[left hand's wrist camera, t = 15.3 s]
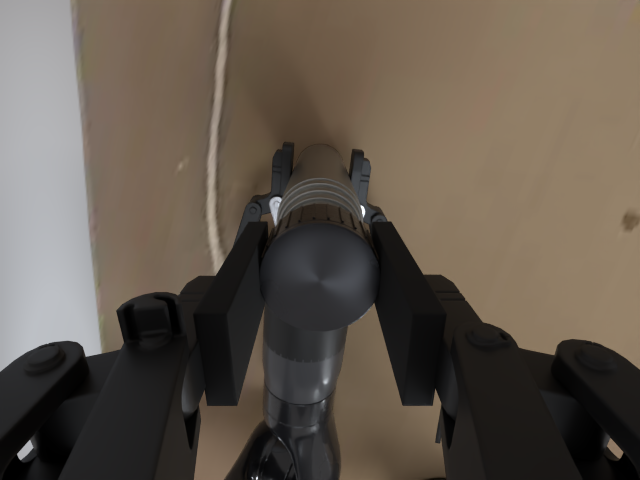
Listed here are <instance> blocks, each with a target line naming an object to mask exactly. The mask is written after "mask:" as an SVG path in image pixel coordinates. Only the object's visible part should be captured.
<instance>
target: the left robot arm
mask: <svg viewBox="0 0 640 480" xmlns="http://www.w3.org/2000/svg"><path fill="white" fill-rule="evenodd" d="M371 239H372V241H373V244H374V246H375V250H376V252H377V255H378V258H379V265H380V270H381V274H380V288H379V293H378V296H377V298H376V300H375V302H374V303H375V307H376V310H377V314H378V317H379V321H380V325H381V328H382V332H383V336H384V339H385V343H386V347H387V350H388V354H389V358H390V361H391V365H392V369H393V372H394V376H395V380H396V383H397V387H398V391H399V394H400V398H401V402H402V405H403V406H433V400H434V393H435V388H436V391H437V393H438V396H439V398H440V401H441V403H442V404H441V410H440V416H439V422H438V428H437V434H436V441H435V443H440V441H441V439H442V447H443V455H444V463H445V472H446V480H640V370H639V369H638V368H637V367H636V366H634V365H633V364H632V363H631V362H629V361H628V360H627V359H626V358H624V357H623V356H621V355H619V354H618V353H616V352H615V351H613V350H611V349H609V348H606V347H604V346H603V345H601V344H598V343H595V342H591V341H586V340H576V339H570V340H564V341H562V342H561V343H560V344H558V345H557V349H556V352H555V355H550V354H545V353H540V352H535V351H530V350H525V349H522V348H519V347H518V345H517V343H516V342H515V340H514V339H513V338H512V337H511V335H510V334H508V333H507V332H505V331H504V330H502V329H501V328H498V327H496V326H493V325H491V324H487V323H483V322H482V321H481V319H480V318H479V317H478V315H477V314H476V313H475V311H474V310H473V309H472V307H471V306H470V305H469V303H468V302H467V301H465V298H464V297H463V295H462V294H461V293H460V291H459V290H458V289H457V287H456V286H455V285H454V283H453V282H452V281H450V280H448V279H447V278H445V277H444V276H442V275H423V273H422V272H421V270H420V268H419V267H418V265H417V263H416V262H415V260H414V259H413V257H412V255H411V254H410V252H409V250H408V249H407V247H406V245H405V244H404V242H403V240H402V239H401V237H400V235H399V234H398V232H397V230H396V229H395V227H394V225H393V224H392V222H372V235H371ZM267 240H268V222H248V223H247V225H246V227H245V228H244V230H243V232H242V233H241V235H240V237H239V238H238V240H237V242H236V243H235V245H234V247H233V248H232V250H231V251H230V253H229V255H228V256H227V258H226V260H225V261H224V263H223V265H222V266H221V268H220V270H219V271H218V273H217V275H216V276H198V277H197V278H195V279H193V280H192V281H190V282H189V283H187V284H186V286H185V287H184V288H183V290H182V291H181V292H180V294H179V295H178V296H177V295H176V294H173V293H168V292H155V293H149V294H144V295H141V296H138V297H135V298H133V299H131V300H129V301H127V302H126V303H124V304H122V305H121V306H120V307H119V308H118V309H117V311H116V312H117V316H118V320H119V324H120V328H121V332H122V336H123V340H124V344H123V346H122V348H121V349H120V350H117V351H113V352H108V353H103V354H98V355H93V356H89V357H86V356H85V353H84V350H83V347H82V346H81V345H80V344H79V343H77V342H72V341H61V342H53V343H49V344H45V345H42V346H39V347H37V348H35V349H33V350H31V351H29V352H27V353H25V354H24V355H22V356H20V357H19V358H17V359H16V360H14V361H13V362H12V363H11V364H9V365H8V366H7V367H6V368H5V369H3V370H2V371H1V372H0V480H194V472H195V464H196V456H197V448H198V440H199V432H200V423H201V417H200V410H199V402H200V400H201V397H202V395H203V392H204V390H205V395H206V401H207V406H237V404H238V401H239V397H240V393H241V390H242V386H243V382H244V379H245V375H246V371H247V368H248V364H249V360H250V357H251V353H252V350H253V346H254V342H255V339H256V335H257V331H258V328H259V324H260V320H261V317H262V313H263V309H264V306H265V300H264V298H263V296H262V294H261V290H260V278H259V269H260V264H261V261H262V259H261V256H262V253H263V251H264V248H265V246H266V243H267ZM610 438H611V439H612V440H613V441H614V442H615V443H616V444H617V445H618V446H619V447H620V449H621V450H622V451H623V452H624V453H623V455H622V457H621V458H620V459H619V458H617V457H616V456H615V455H614V454H613V453H612V452H611V451H610V450H609V448H608V447H607V444H608V442H609V440H610ZM29 440H31V443H32V445H33V449H32V450H31V451H30V453H29V454H28V455H27V456H25V457H24V458H23V459H22V460H20V459H19V458H18V456H17V453H18V452H19V451H20V450H21V449H22V448H23V447H24V445H25V444H26V443H27V442H28V441H29Z"/></svg>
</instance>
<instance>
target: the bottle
mask: <svg viewBox="0 0 640 480" xmlns="http://www.w3.org/2000/svg"><path fill="white" fill-rule="evenodd" d="M313 203H316V204H327V203H328V204H329V205H333V206H337V207H339V206H340V207H341V208H342V209H344V210H346V211H348V212H350V213H351V212H352V213H353V215H354V216H355V217H356V218H357V219H358V220H359V221H360V220H361V221H362V223H363V213H362V208H361V205H360V202H359V200H358V197H357V195H356V192H355V190H354V187H353V185H352V182H351V180H350V177H349V175H348V172H347V170H346V168H345V165H344V163H343V160H342V158H341V156H340V154H339V153H338V152H337V151H336V150H335V149H334V148H332V147H330V146H328V145H324V144H316V145H312V146H310V147H308V148H306V149H305V150H304V151H303V152H302V153H301V154H300V156H299V158H298V160H297V162H296V165H295V167H294V170H293V172H292V175H291V177H290V180H289V182H288V185H287V187H286V190H285V192H284V194H283V197H282V199H281V202H280V204H279V208H278V212H277V222H276V225H277V224H278V222H279V220H280V219H282V218H283V217H285V216H286V215H287V214H288V213H289V212H290V211H291V212H292V211H293V210H295V209H298V208H300V207H301V206H306V205H311V204H313Z"/></svg>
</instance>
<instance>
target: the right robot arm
mask: <svg viewBox="0 0 640 480" xmlns="http://www.w3.org/2000/svg"><path fill="white" fill-rule="evenodd" d="M293 155H294V143H291V142H284V143H283V149H282V150H281V149H278V150H277V151H276V152H275V155H274V157H273V165H272V186H271V192H270V193H268V194H265V195H255V196H253V197H252V199H251V201H250V202H249V203H248V204H247V206H246V208H245V211H244V214H243V217H242V220H241V223H240V226H239V230H238V233H237V236H236V239H235V242H234V245H235V243H236V242H237V240H238V238H239V237H240V235H241V233H242V232H243V230H244V228H245V227H246V225H247V223H248V222H260V219H261V216H262V215H263V214H267V213H271V214H272V217H273V221H274V224H275V227H276V222H277V212H278V208H279V204H280V202H281V199H282V197H283V194H284V192H285V190H286V187H287V185H288V182H289V180H290V177H291V175H292V170H293ZM370 171H371V166H370V162H369V160H368V159H367V158H364V152H363V151H362V150H359V149H352V154H351V162H350V170H349V177H350V180H351V182H352V185H353V187H354V190H355V192H356V195H357V197H358V200H359V202H360V205H361V208H362V213H363V222H365V223H367V224H369V228H370V236H371V235H372V222H387V219H386V217H385V215H384V214H383V212H382V210H381V209H380V208H379V207H377V206H373V205H370V204H369V203H367V202H366V198H367V191H368V185H369V178H370ZM234 245H233V247H234ZM347 327H348V326H346V327H343V328H341V329H337V330H333V331H326V332H314V331H307V330H302V329H299V328H296V327H294V326H291V325H289V324H288V323H286V322H284V321H283V320H281V319H280V318H279V317H277V316H276V315H275V314H274V313H273V312H272V310H271V309H270V308H269V307H268V305H267V304H266V302H265V310H264V332H263V368H264V389H263V415H264V420H263V421H261V422H260V423H259V424H258V425H257V427H256V428H255V430H254V431H253V433H252V434H251V436H250V438H249V439H248V441H247V443H246V445H245V447H244V448H243V450H242V452H241V454H240V455H239V457H238V459H237V460H236V462H235V464H234V465H233V467H232V468H231V470H230V471H229V473H228V474H227V476H226V477H225V479H224V480H339V478H340V471H341V453H340V446H339V440H338V435H337V430H336V425H335V419H334V415H333V403H334V397H335V390H336V383H337V379H338V376H339V373H340V369H341V366H342V360H343V354H344V348H345V341H346V334H347ZM436 480H445V479H436Z"/></svg>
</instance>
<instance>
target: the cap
mask: <svg viewBox="0 0 640 480" xmlns="http://www.w3.org/2000/svg"><path fill="white" fill-rule="evenodd" d="M261 259H262V261H261V264H260V269H259V278H260V290H261V294H262V296H263V298H264V300H265V302H266V304H267V305H268V307H269V308H270V309H271V310H272V312H273V313H274V314H275V315H276V316H277V317H279V318H280V319H281V320H283V321H284V322H286V323H288V324H289V325H291V326H294V327H296V328H299V329H302V330H307V331H314V332H326V331H333V330H337V329H341V328H343V327H346V326H348V325H350V324H352V323H354V322H356V321H357V320H358V319H360V318H361V317H362V316H363V315H364V314H366V312H367V311H368V310H369V309H370V308H371V306H372V305H373V303H374V302H375V300H376V298H377V296H378V293H379V288H380V274H381V270H380V265H379V258H378V255H377V252H376V250H375V246H374V244H373V241H372V239H371V236H370V233H369V231H368V230H366V229H365V227H364V226H363V223H362V221H361V220H360V221H359V220H358V219H357V218H356V217H355V216H354V215H353V213H352V212H351V213H350V212H348V211H346V210H344V209H342V208H341V207H340V206H339V207H337V206H333V205H329V204H328V203H327V204H316V203H313V204H311V205H306V206H301V207H300V208H298V209H295V210H293V211H292V212H291V211H290V212H289V213H288V214H287V215H286V216H285V217H283V218H282V219H280V220H279V222H278V224H277V225H276V227H275V228H273V229H272V231H271V234H270V236H269V239H268V240H267V243H266V246H265V248H264V251H263V253H262V256H261Z"/></svg>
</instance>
